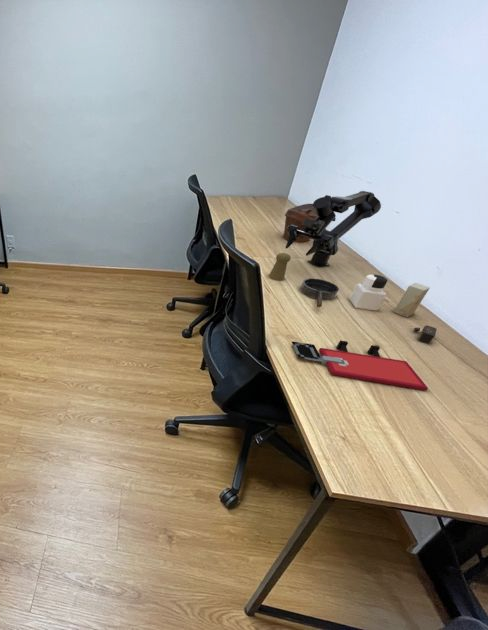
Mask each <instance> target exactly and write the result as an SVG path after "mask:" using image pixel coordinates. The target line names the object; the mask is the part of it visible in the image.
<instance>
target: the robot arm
mask: <svg viewBox="0 0 488 630" xmlns="http://www.w3.org/2000/svg"><path fill="white" fill-rule="evenodd" d="M312 204H313V206H314V210H315V213H316V215H317V217H316V218H315V220H311V219H307V218H306V219H305V220H304V222H303V223H302V226H304V228H303V229H304V230H305V231H301V230H300V229H299V227H298V226H295V225H289V226H288V227H287V228H286V230H287V232H288V235H289V239H288V240H287V242H286V244H285V249H286V250H287V249H288V248H290V247H291V245H293V244H294V243H295V242H296V241H295V240H296V239H297V238H296V237H298V236H299V235H301V236H304V237H307V238H310V240H313V241H312V247H310V249H308V251H306V253H305V256H310V255H312V257H311V260H307V262H308V263H310V264H311V265H313V266H316V267H318V268H320V267H330V264H329V260H330V258H331V256H335V255H336V254H337V253H338V252H339V247H338V246H339V239H341V237H343V236H344V235H345V234H347V232H349V231H350V230H351V229H352V228H353V227H355V226H356V225H358V223H359V222H361V221H362V220H364V219H365V220H366V219H368V218H371V217H374V215H376V214H377V213H378V212H380V210H381V208H382V204H381V201H380V200H379V199H378V198H377V197H376V196H375V194H374V193H373V192H371V191H366V190H360V191H359V192H356V193H353V194H350V195H346V196H331V195H328V194H325V195H324V196H322V197H319V198H316V199H315V200H313V203H312ZM351 207H354V209H353V211H352V213H350V214H349V215H347V217H345V218H344V219H343V220H342V221H340V222H339V223H338V224H337V225H336V226H335V227H334V228H332V229H331V230H327V228H328V226H330V224H331V223H332V222H335V221H336V219H337V218H336V217H337V216H336V213H337V214H343V213H345V212H347V211H348V210H349V208H351Z"/></svg>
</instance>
